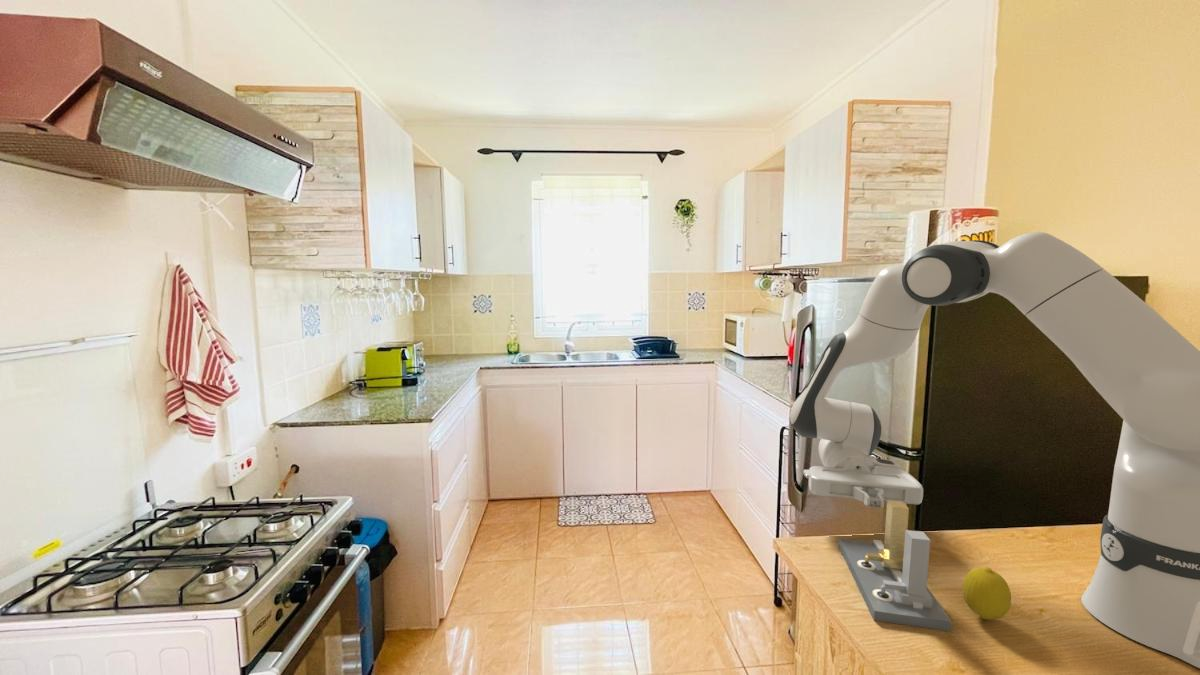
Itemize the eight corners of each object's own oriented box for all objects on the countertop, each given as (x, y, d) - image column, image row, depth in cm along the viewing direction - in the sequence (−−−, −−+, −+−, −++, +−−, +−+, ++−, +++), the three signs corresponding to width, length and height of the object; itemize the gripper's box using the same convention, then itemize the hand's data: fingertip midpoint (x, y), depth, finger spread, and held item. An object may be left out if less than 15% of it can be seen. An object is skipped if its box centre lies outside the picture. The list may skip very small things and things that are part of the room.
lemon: (1017, 634, 66) (1023, 582, 66) (973, 629, 68) (978, 577, 67) (993, 608, 72) (998, 559, 71) (952, 603, 73) (957, 555, 72)
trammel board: (897, 552, 87) (901, 491, 85) (950, 631, 67) (957, 552, 66) (838, 546, 89) (841, 485, 87) (873, 620, 70) (879, 544, 68)
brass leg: (903, 562, 80) (907, 501, 79) (910, 573, 77) (915, 509, 76) (862, 557, 82) (865, 497, 80) (867, 567, 79) (871, 505, 78)
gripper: (802, 454, 103) (816, 481, 89) (906, 463, 98) (938, 492, 85) (800, 482, 103) (814, 512, 90) (904, 491, 99) (934, 525, 86)
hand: (875, 503), depth 87 cm, fingers closed
